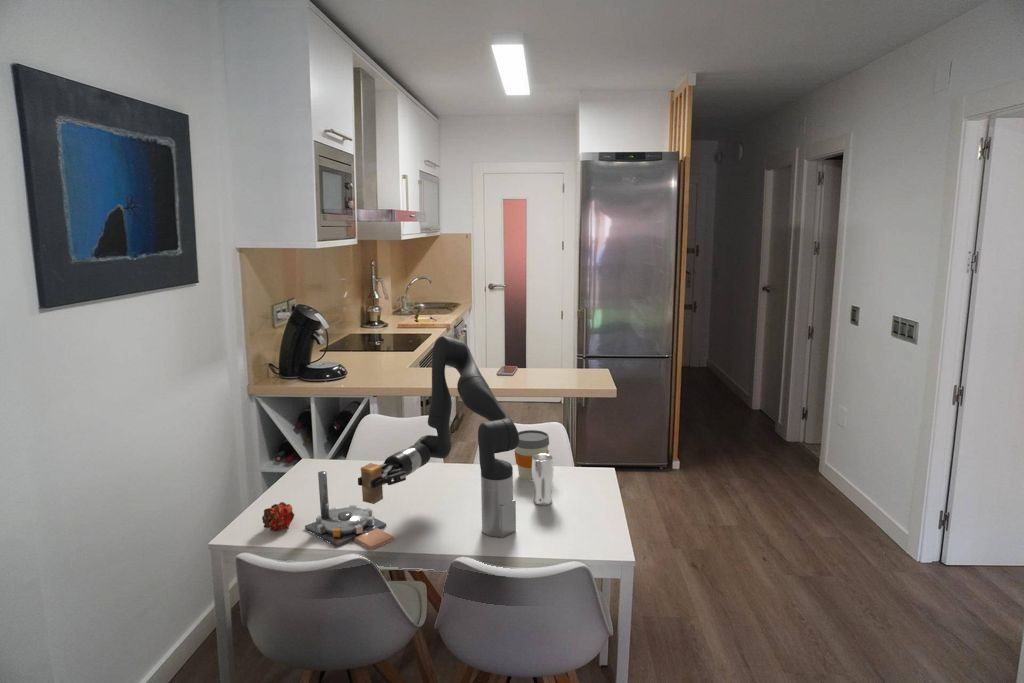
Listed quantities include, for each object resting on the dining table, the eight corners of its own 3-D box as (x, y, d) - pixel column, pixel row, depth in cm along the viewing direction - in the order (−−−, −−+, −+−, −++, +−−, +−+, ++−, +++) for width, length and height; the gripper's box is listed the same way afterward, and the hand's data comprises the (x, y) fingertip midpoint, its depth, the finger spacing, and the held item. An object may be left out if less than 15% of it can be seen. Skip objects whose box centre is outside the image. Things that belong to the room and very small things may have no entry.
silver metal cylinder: (528, 503, 218) (527, 459, 215) (537, 495, 224) (537, 452, 221) (548, 507, 215) (547, 462, 212) (557, 499, 221) (557, 455, 218)
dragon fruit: (265, 543, 197) (287, 530, 209) (286, 528, 196) (308, 516, 207) (250, 518, 198) (273, 506, 210) (271, 503, 196) (293, 492, 208)
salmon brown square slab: (394, 539, 195) (394, 536, 195) (371, 549, 189) (371, 546, 189) (377, 531, 200) (377, 528, 200) (354, 540, 195) (354, 537, 194)
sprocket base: (386, 526, 203) (386, 523, 203) (337, 547, 191) (336, 543, 191) (353, 510, 215) (353, 507, 214) (305, 528, 202) (304, 525, 202)
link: (383, 498, 194) (381, 465, 192) (373, 504, 191) (372, 470, 189) (372, 496, 196) (370, 463, 194) (362, 501, 193) (360, 467, 191)
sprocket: (380, 511, 210) (378, 462, 207) (366, 537, 194) (363, 484, 191) (326, 511, 211) (323, 462, 208) (307, 536, 195) (303, 483, 192)
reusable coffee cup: (535, 485, 232) (535, 443, 230) (506, 477, 240) (506, 436, 237) (556, 474, 242) (556, 434, 239) (527, 466, 250) (527, 427, 247)
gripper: (383, 447, 207) (344, 466, 192) (421, 455, 200) (384, 475, 186) (384, 471, 209) (346, 491, 194) (422, 479, 202) (386, 501, 187)
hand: (365, 483), depth 190 cm, fingers closed on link, 4 cm apart
